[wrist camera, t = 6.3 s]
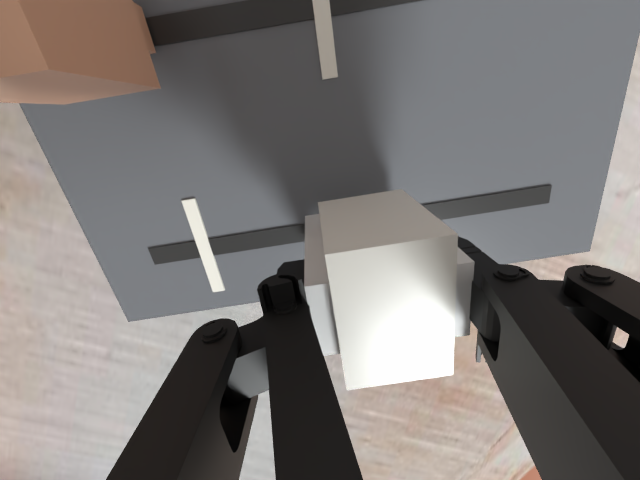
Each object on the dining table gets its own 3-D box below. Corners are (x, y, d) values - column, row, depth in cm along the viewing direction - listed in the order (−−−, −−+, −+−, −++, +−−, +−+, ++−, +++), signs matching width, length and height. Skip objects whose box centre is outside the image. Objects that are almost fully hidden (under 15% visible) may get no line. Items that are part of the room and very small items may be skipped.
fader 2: (389, 262, 17) (453, 375, 10) (329, 271, 17) (346, 390, 10) (384, 175, 15) (457, 233, 8) (315, 186, 15) (324, 254, 8)
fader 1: (190, 93, 13) (49, 69, 6) (114, 106, 13) (-120, 98, 6) (149, -52, 11) (-140, -353, 4) (59, -36, 11) (-386, -303, 4)
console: (569, 241, 19) (591, 252, 18) (141, 307, 20) (127, 323, 18) (648, -165, 12) (697, -204, 11) (-24, -44, 13) (-69, -65, 11)
